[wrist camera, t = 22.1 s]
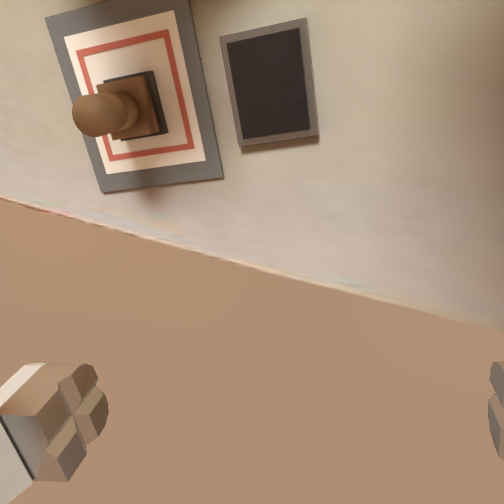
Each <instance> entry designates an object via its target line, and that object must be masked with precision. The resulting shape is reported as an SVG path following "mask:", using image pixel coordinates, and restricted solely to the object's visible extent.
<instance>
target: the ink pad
mask: <svg viewBox="0 0 504 504" xmlns="http://www.w3.org/2000/svg"><path fill="white" fill-rule="evenodd" d="M219 39H220V44H221V50H222V55H223V61H224V66H225V72H226V77H227V83H228V88H229V94H230V99H231V105H232V111H233V116H234V122H235V127H236V133H237V138H238V144H239V147H240V146H247V145H254V144H261V143H267V142H274V141H281V140H288V139H295V138H302V137H309V136H315V135H319V128H318V118H317V109H316V99H315V90H314V80H313V70H312V61H311V51H310V41H309V32H308V22H307V18H302V19H297V20H293V21H288V22H284V23H279V24H275V25H270V26H266V27H261V28H257V29H252V30H248V31H243V32H239V33H234V34H230V35H225V36H221V37H219Z"/></svg>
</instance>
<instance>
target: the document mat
mask: <svg viewBox="0 0 504 504" xmlns="http://www.w3.org/2000/svg"><path fill="white" fill-rule="evenodd" d="M45 21H46V24H47V27H48V30H49V33H50V36H51V39H52V42H53V45H54V48H55V52H56V55H57V58H58V61H59V64H60V67H61V70H62V73H63V76H64V79H65V82H66V85H67V89H68V92H69V95H70V98H71V101H72V104H74V102H75V101H76V99H77V98H79V97H80V96H83V95H89V94H98V91H97V88H96V85H98V84H103V83H104V82H103V80H108V79H113V78H117V77H122V76H126V75H131V74H136V73H140V72H145V71H154V75H155V79H156V83H157V88H158V92H159V96H160V100H161V104H162V108H163V112H164V116H165V120H166V124H167V128H168V132H169V133H166V134H163V135H157V136H151V137H145V138H139V139H133V140H127V141H121V140H120V139H119V140H112V137H111V134H107V135H103V136H100V137H89V136H87V135H85V134H83V133H82V135H83V138H84V141H85V144H86V147H87V150H88V153H89V156H90V159H91V162H92V166H93V169H94V172H95V175H96V178H97V181H98V184H99V187H100V190H101V193H102V192H110V191H118V190H126V189H134V188H141V187H149V186H157V185H165V184H173V183H181V182H189V181H197V180H204V179H212V178H220V177H224V173H223V168H222V163H221V158H220V153H219V148H218V143H217V138H216V133H215V128H214V123H213V118H212V113H211V108H210V103H209V98H208V93H207V88H206V83H205V78H204V73H203V68H202V63H201V58H200V53H199V48H198V43H197V38H196V33H195V29H194V24H193V19H192V14H191V9H190V4H189V0H111V1H107V2H103V3H99V4H95V5H92V6H88V7H84V8H80V9H77V10H73V11H69V12H65V13H61V14H58V15H54V16H50V17H46V18H45Z"/></svg>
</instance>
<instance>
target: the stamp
mask: <svg viewBox="0 0 504 504" xmlns="http://www.w3.org/2000/svg"><path fill="white" fill-rule="evenodd" d="M103 82H104V83H103V84H98V85H96V88H97V91H98V94H89V95H83V96H80V97H79V98H77V99H76V101H75V102H74V104H73V108H72V115H73V120H74V122H75V124H76V126H77V128H78V129H79V130H80V131H81V132H82V133H83V134H85V135H87V136H89V137H100V136H103V135H107V134H111V137H112V140H119V139H120V140H121V141H127V140H133V139H139V138H145V137H151V136H157V135H163V134H166V133H169V132H168V128H167V124H166V120H165V116H164V112H163V108H162V104H161V100H160V96H159V92H158V88H157V83H156V79H155V75H154V71H145V72H140V73H136V74H131V75H126V76H122V77H117V78H113V79H108V80H103Z"/></svg>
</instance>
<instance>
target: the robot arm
mask: <svg viewBox="0 0 504 504" xmlns="http://www.w3.org/2000/svg"><path fill="white" fill-rule="evenodd" d="M97 380H98V376H97V374H96V372H95V370H94V368H93V366H91V365H88V364H80V363H77V364H76V363H31V364H28V365H25V366H23V367H22V368H21V369H20V370H19V371H18V372H17V373H16V374H15V375H13V376H12V377H11V378H10V379H9V380H8V381H7V382H6V383H5V384H4V385H3V386H2V387H0V504H8V503H9V502H11V501H12V500H13V499H14V498H16V497H17V496H18V495H19V494H20V493H22V492H23V491H24V490H25V489H26V488H28V487H29V486H30V485H31V484H32V483H33V480H34V481H56V482H68V481H69V480H70V478H71V477H72V475H73V474H74V472H75V471H76V469H77V468H78V466H79V465H80V463H81V462H82V460H83V459H84V457H85V456H86V454H87V451H86V445H87V444H89V443H90V442H91V441H93V440H94V439H95V438H97V437H98V436H99V435H100V433H101V431H102V430H103V428H104V427H105V424H106V420H107V416H108V402H107V399H106V396H105V394H104V393H103V392H102V391H101V390H100V389H99V388H98V387H96V386H95V385H96V382H97ZM490 381H491V383H492V385H493V387H494V390H495V392H496V393H495V394H494V395H493V396H492V397H491V398H490V399H489V406H488V417H489V424H490V431H491V435H492V439H493V442H494V445H495V448H496V450H497V453H498V455H499V457H501V458H502V459H503V460H504V362H493V365H492V367H491V376H490Z"/></svg>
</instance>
